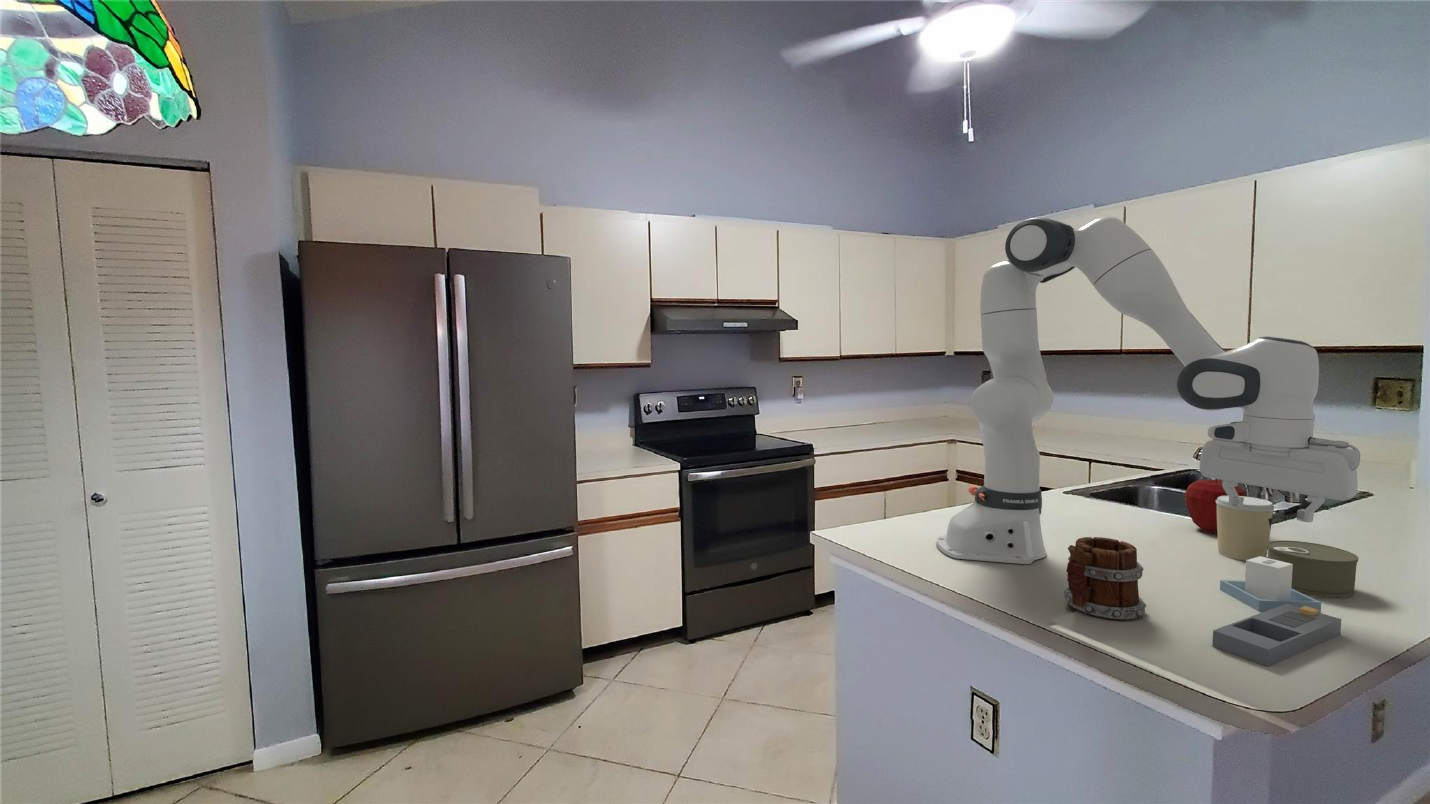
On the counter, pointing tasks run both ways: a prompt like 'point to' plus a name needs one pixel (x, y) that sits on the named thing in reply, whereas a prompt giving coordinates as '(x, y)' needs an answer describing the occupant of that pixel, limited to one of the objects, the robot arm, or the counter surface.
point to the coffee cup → (1244, 528)
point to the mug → (1104, 579)
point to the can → (1317, 568)
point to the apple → (1206, 502)
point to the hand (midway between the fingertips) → (1268, 513)
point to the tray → (1262, 605)
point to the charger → (1268, 578)
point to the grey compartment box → (1277, 633)
